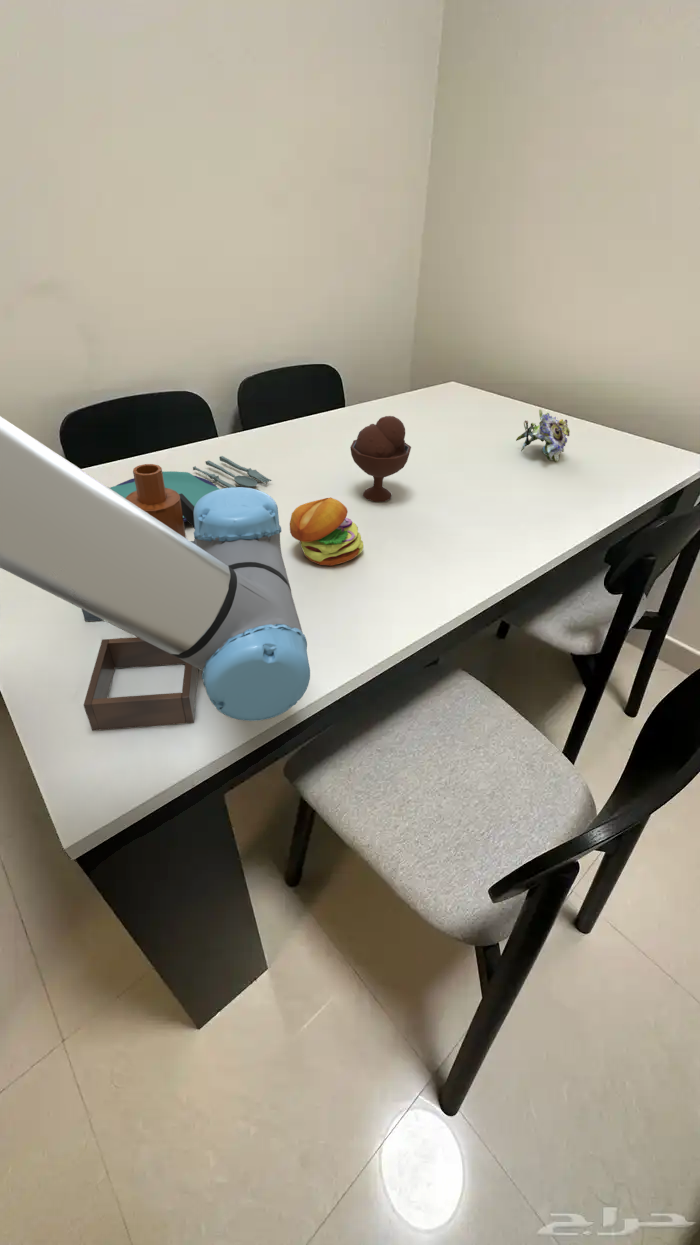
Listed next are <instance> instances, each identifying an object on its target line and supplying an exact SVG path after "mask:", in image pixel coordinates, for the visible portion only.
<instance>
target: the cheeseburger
mask: <svg viewBox="0 0 700 1245" xmlns="http://www.w3.org/2000/svg"><path fill="white" fill-rule="evenodd" d="M348 513H349V512H348V508H347V507H346V505H344V504H343V503H342V502H341V501H340V500H338V499H336V498H333V497H324V498H321V499H316V500H313V501H309V502H306V503H302V504H300V505H298V506H297V507H296V508H295V509H294V510H293V511H292V512H291V514H290V515H291V516H290V519H289V520H290V521H289V533H290V535H291V537H292V538H294V539H295V540H296V541H299V544H300V547H301V549H302V551H303V554H304V556H305V557H306V558H307V559H308V560H309V561H310V562H312V563H315V564H317V565H320V566H335V565H340V564H344V563H346V562H348V561H351V560H353V559H355V558H356V557H358V556H360V554H361V553H362V551H363V550H364V542H363V539H362V535H361V533H360V532H359V527H358V526H357V524H356V523H355V522H354V521H352V519H350V518H348V517H347V516H348Z"/></svg>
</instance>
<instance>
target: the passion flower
mask: <svg viewBox="0 0 700 1245" xmlns="http://www.w3.org/2000/svg"><path fill="white" fill-rule="evenodd" d="M543 412H544V411H543V410H542V409H538V414H539V420H540V421H539V422H538V425H536V423H535V422H531V423H530V426H529V421H528V420H524V421H523V428H524V432H523V433H522V434H520V435H518V436H517V438H516V439H515V441H517V442H518V441H520V440H521V439H525V440H524V442H523V444H522V447H521V450H520V452H522V451H523V450H524V449H525V448H526V447H527V446H530V445H531V443H532V442H534V441H537V440H540V441H541V442H542V443H543V442H545V444H544V445H543V447H542V453H543V454H544V455H545V457H546V459H547V460H549V461H550V462H551V461H553V462H555V463H557V462H558V461H559V456H560V453H561V452H565V447H566V444H567V443H568V437H570V433H571V431H570V428H569V427H568V426H569V424H568V420H567V419H563V418H561V419H560V420H559V419H556V418H557V417H556V416H552V415H550V412H549V411H547V412H546V413H543ZM529 437H530V439H529Z"/></svg>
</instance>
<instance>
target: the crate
mask: <svg viewBox="0 0 700 1245" xmlns="http://www.w3.org/2000/svg"><path fill="white" fill-rule="evenodd" d="M171 665H172V666H173V665H184V670H183V679H182V680H183V681H182V689H181V692H169V693H158V694H155V693H154V694H142V695H141V694H140V695H129V696H116V697H115V696H114V697H109V693H110V690H111V686H112V682H113V678H114V674H115V669H126V668H127V669H128V668H141V667H158V666H171ZM198 674H199V669H198V668H196V667H194V666H192V665H190V664H188V663H186V662H185V661H183V660H181V659H179V658H178V657H176V656H174V655H172V654H170V653H168V652H166V651H164V650H162V649H160V648H158V647H156V646H154V645H152V644H150V643H148V642H146V641H144V640H142V639H140V638H138V637H136V636H134V637H119V638H118V637H117V638H104V639H103V638H102V639H101V642H100V645H99V649H98V653H97V656H96V660H95V663H94V667H93V670H92V673H91V677H90V681H89V685H88V688H87V691H86V694H85V698H84V702H83V708H84V711H85V714H86V717H87V719H88V722H89V726H90V728H91V731H107V730H108V731H109V730H119V729H122V730H123V729H133V728H145V727H146V728H147V727H158V726H170V725H172V726H173V725H183V724H193V723H194V722H195V710H196V698H197V687H198Z"/></svg>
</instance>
